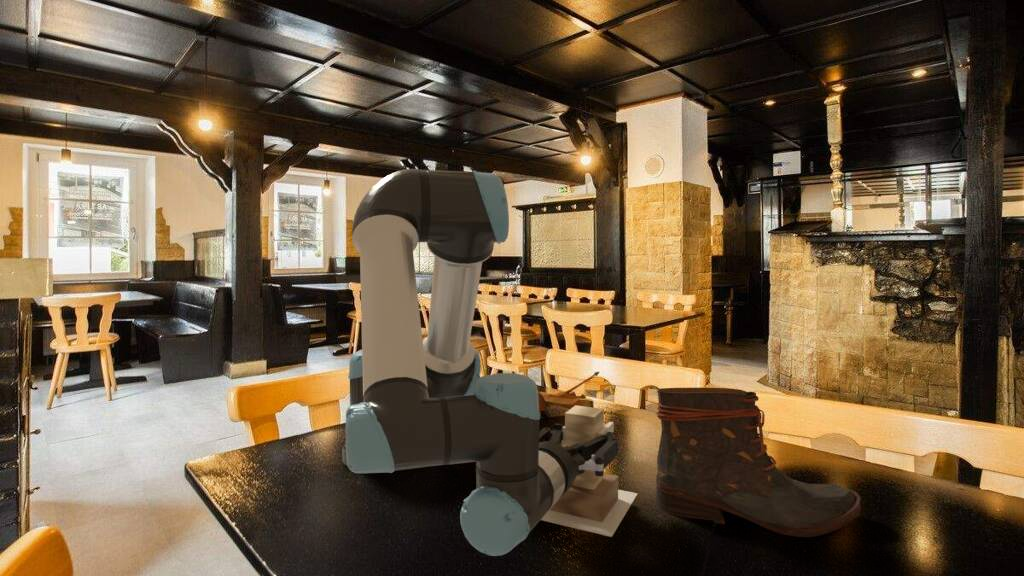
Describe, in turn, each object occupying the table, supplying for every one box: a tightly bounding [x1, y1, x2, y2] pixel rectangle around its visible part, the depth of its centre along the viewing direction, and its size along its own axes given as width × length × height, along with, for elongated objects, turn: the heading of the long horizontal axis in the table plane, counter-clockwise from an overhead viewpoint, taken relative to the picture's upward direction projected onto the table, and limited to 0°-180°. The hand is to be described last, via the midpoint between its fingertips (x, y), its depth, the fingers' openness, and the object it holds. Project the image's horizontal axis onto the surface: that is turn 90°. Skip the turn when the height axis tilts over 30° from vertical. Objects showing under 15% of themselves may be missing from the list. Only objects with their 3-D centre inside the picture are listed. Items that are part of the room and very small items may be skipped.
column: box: [564, 405, 605, 490], centre depth 88 cm, size 5×5×12 cm
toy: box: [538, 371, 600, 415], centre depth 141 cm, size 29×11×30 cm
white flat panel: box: [462, 489, 639, 538], centre depth 91 cm, size 26×16×1 cm, turn 63°
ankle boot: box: [655, 387, 861, 538], centre depth 84 cm, size 11×31×20 cm, turn 78°
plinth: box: [550, 472, 619, 522], centre depth 88 cm, size 9×9×4 cm
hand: (594, 427), depth 92 cm, fingers open, 5 cm apart
